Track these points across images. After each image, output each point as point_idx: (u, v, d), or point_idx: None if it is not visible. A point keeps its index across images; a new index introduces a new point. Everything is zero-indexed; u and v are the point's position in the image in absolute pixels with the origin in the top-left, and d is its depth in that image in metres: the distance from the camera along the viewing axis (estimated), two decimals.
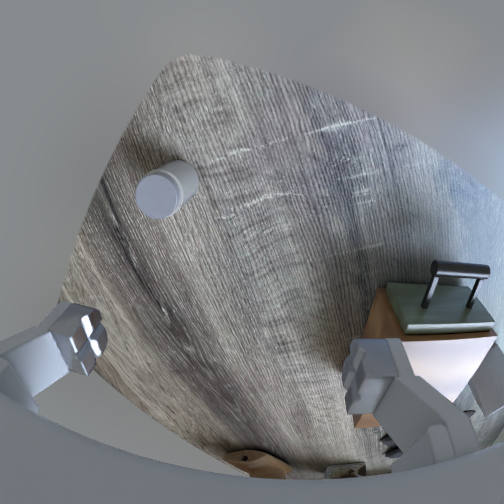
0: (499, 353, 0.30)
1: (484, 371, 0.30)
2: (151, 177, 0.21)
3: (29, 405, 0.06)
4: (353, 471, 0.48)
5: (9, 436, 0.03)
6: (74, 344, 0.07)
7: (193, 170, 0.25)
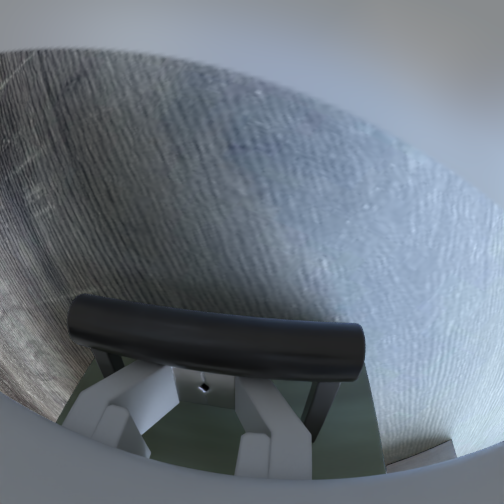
0: (450, 457, 0.16)
1: None
2: None
3: (144, 452, 0.05)
4: None
5: (9, 436, 0.03)
6: (204, 373, 0.07)
7: None
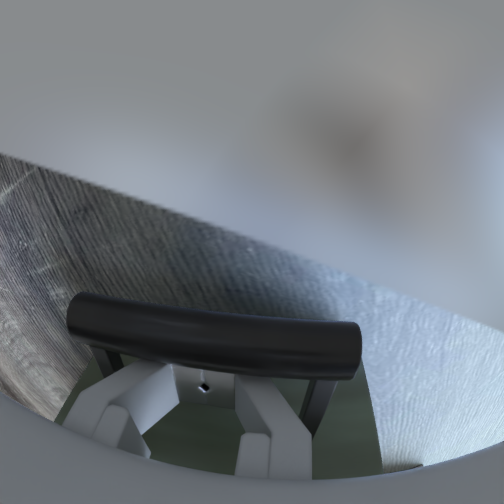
0: None
1: None
2: None
3: (144, 452, 0.05)
4: None
5: (9, 436, 0.03)
6: (204, 373, 0.07)
7: None
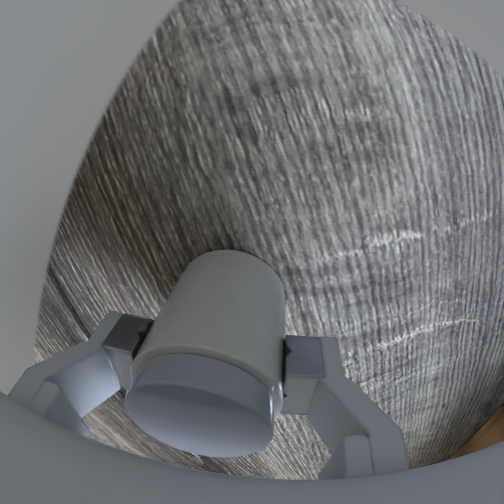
0: None
1: None
2: (177, 389, 0.05)
3: (80, 430, 0.06)
4: None
5: (9, 436, 0.03)
6: None
7: (278, 284, 0.10)
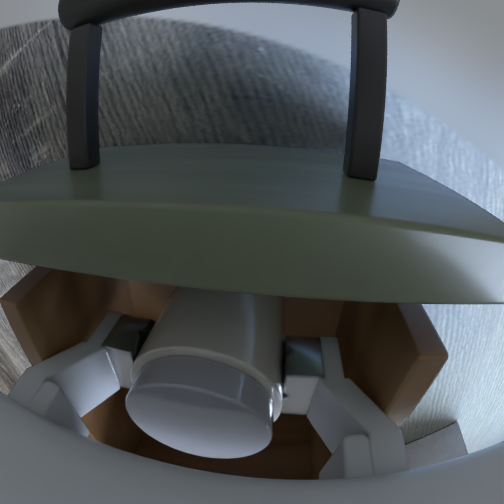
0: (457, 439, 0.16)
1: None
2: (177, 391, 0.05)
3: (80, 430, 0.06)
4: None
5: (9, 436, 0.03)
6: (134, 360, 0.07)
7: None
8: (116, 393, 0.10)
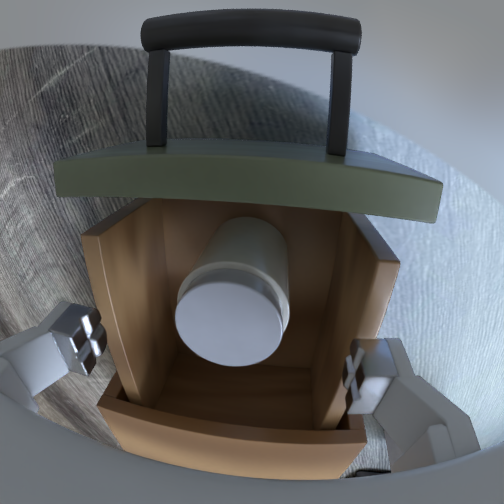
0: None
1: None
2: (220, 287, 0.09)
3: (29, 405, 0.06)
4: None
5: (9, 436, 0.03)
6: (74, 344, 0.07)
7: (283, 241, 0.13)
8: (150, 337, 0.13)
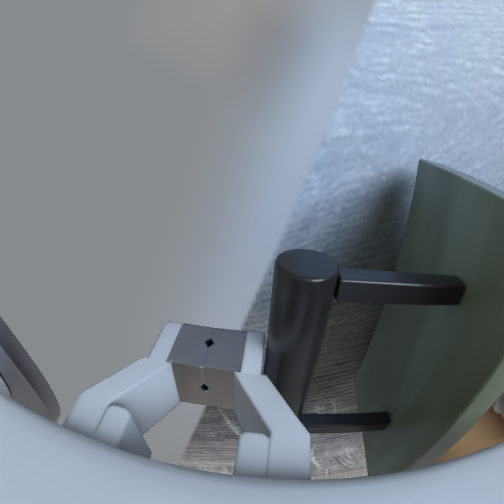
0: None
1: None
2: None
3: (145, 453, 0.05)
4: None
5: (9, 436, 0.03)
6: (205, 373, 0.07)
7: None
8: None
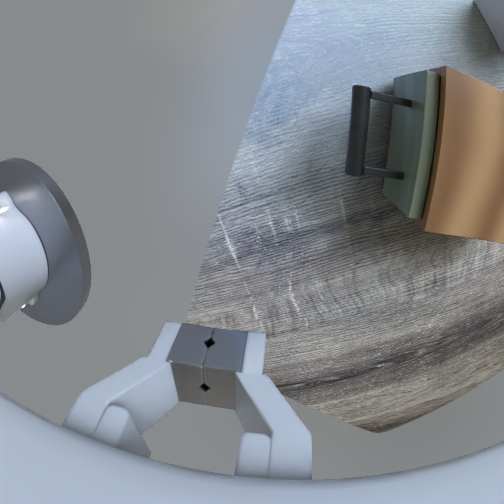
0: (484, 1, 0.13)
1: None
2: None
3: (144, 452, 0.05)
4: None
5: (9, 436, 0.03)
6: (204, 373, 0.07)
7: (437, 129, 0.21)
8: None
